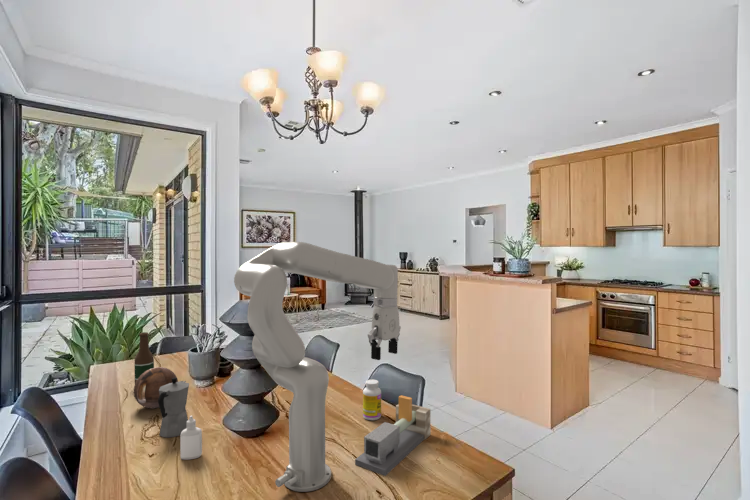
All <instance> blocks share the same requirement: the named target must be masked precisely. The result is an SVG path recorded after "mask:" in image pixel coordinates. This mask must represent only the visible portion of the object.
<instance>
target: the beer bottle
mask: <svg viewBox="0 0 750 500" xmlns="http://www.w3.org/2000/svg"><path fill="white" fill-rule="evenodd" d="M138 336H139V346H138V352H137V353H136V354H135V357H134V361H133V362H134V366H133V367H134V384H135V383H136V381H137V379H138V378H139V377H140V376H141V375H142V374H143V373H144V372H145V371H147V370H149V369H152V368H155V359H154V355H153V352H151V350H150V345H149V332H145V331H144V332H140V333H139V334H138Z"/></svg>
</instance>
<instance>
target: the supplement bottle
mask: <svg viewBox="0 0 750 500" xmlns="http://www.w3.org/2000/svg"><path fill="white" fill-rule="evenodd" d="M379 385H380V384H379V380H377V379H368V380H366V381H365V387H364V388H363V390H362V416H363V418H364V419H365V420H368V421H377V420H379V419H380V418H381V416H382V390H381V388H380V387H379Z"/></svg>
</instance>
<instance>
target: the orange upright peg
mask: <svg viewBox="0 0 750 500" xmlns="http://www.w3.org/2000/svg"><path fill="white" fill-rule="evenodd" d="M398 404H399V419H400V420H399V421H398V422H396V421H395V423H394V424H393V425H397V426H400V433H401V432H403V431H404V430H405V429H406V428H408V427H409V426H410V425H411V424H412V423H414V422H415V421H416V411H412V404H413V398H412V397H410V396H405V395H399V396H398Z"/></svg>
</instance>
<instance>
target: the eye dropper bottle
mask: <svg viewBox="0 0 750 500" xmlns="http://www.w3.org/2000/svg"><path fill="white" fill-rule="evenodd" d="M196 422H197V421H196V419H195V418H194V417H193V415H189V418H188V421H187V428H186V429H184V430H183V431H182V432H181V435H180V437H179V439H180V440H179V441H180V447H179V449H180V451H179V452H180V455H179V457H180V460H185V461H186V460H188V461H189V460H193V459H198V458H200V457H201V456H202V455H203V433H202V432H203V430H202V428H200V427H197V426H196V425H197V424H196Z"/></svg>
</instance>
